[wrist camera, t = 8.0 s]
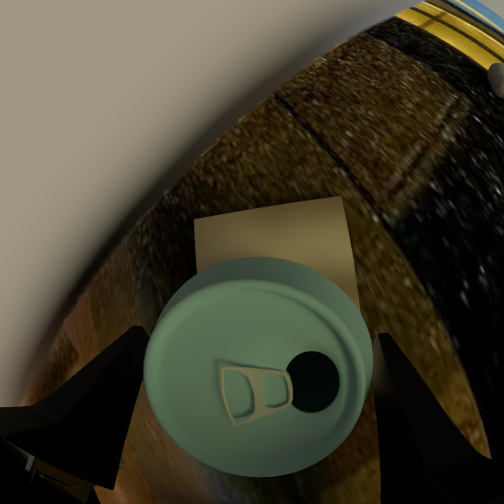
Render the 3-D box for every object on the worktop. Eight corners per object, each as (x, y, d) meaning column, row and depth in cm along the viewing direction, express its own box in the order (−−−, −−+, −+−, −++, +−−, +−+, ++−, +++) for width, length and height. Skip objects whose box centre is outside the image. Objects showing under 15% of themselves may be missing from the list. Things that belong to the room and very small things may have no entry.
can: (275, 247, 18) (240, 189, 6) (351, 318, 17) (439, 378, 5) (205, 322, 18) (87, 373, 7) (278, 390, 17) (253, 517, 5)
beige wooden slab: (359, 382, 18) (365, 391, 16) (222, 394, 20) (212, 404, 18) (337, 207, 21) (340, 196, 19) (205, 227, 23) (193, 219, 20)
